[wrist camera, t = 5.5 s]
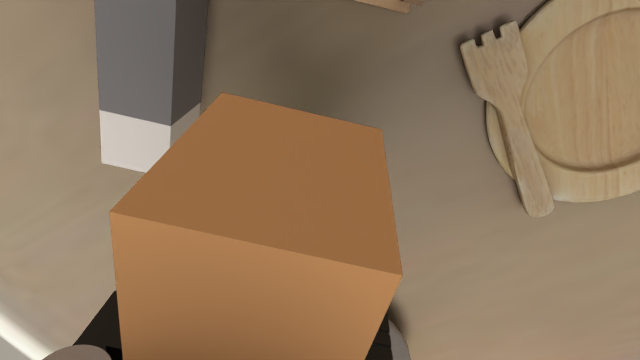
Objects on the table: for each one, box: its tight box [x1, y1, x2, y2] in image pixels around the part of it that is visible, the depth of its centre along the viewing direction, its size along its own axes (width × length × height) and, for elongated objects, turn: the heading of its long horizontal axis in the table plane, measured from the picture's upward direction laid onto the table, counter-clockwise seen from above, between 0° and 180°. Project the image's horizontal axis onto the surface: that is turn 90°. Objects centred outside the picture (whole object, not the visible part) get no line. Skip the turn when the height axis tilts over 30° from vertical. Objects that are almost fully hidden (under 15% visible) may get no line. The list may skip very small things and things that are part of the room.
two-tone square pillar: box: [94, 0, 209, 173], centre depth 21 cm, size 9×4×4 cm, turn 168°
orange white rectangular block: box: [109, 92, 403, 360], centre depth 9 cm, size 9×4×4 cm, turn 168°
